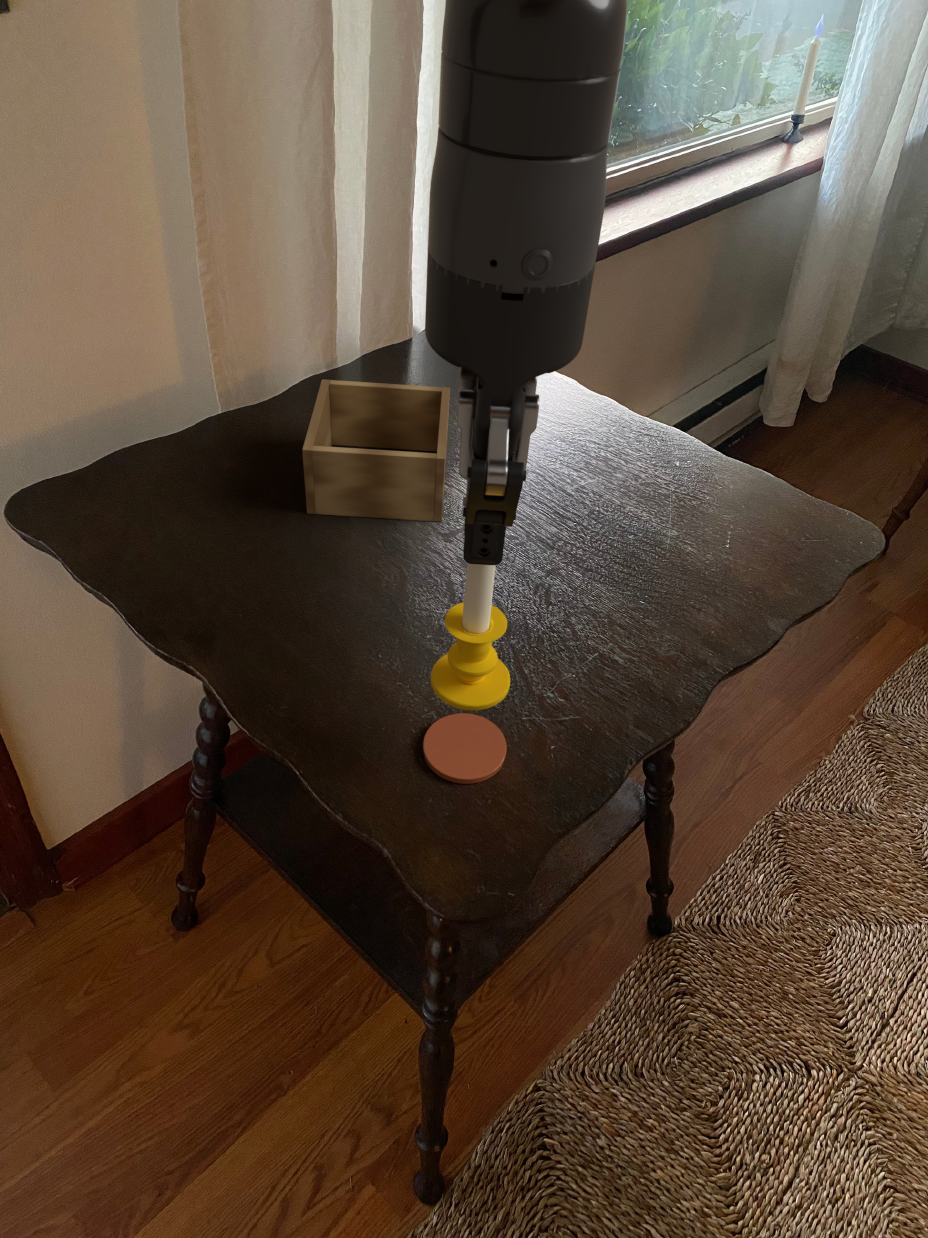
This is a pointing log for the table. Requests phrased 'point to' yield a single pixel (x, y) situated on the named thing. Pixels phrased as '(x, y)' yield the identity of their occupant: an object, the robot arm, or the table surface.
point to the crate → (377, 451)
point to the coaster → (464, 748)
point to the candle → (473, 648)
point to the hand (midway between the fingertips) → (482, 547)
